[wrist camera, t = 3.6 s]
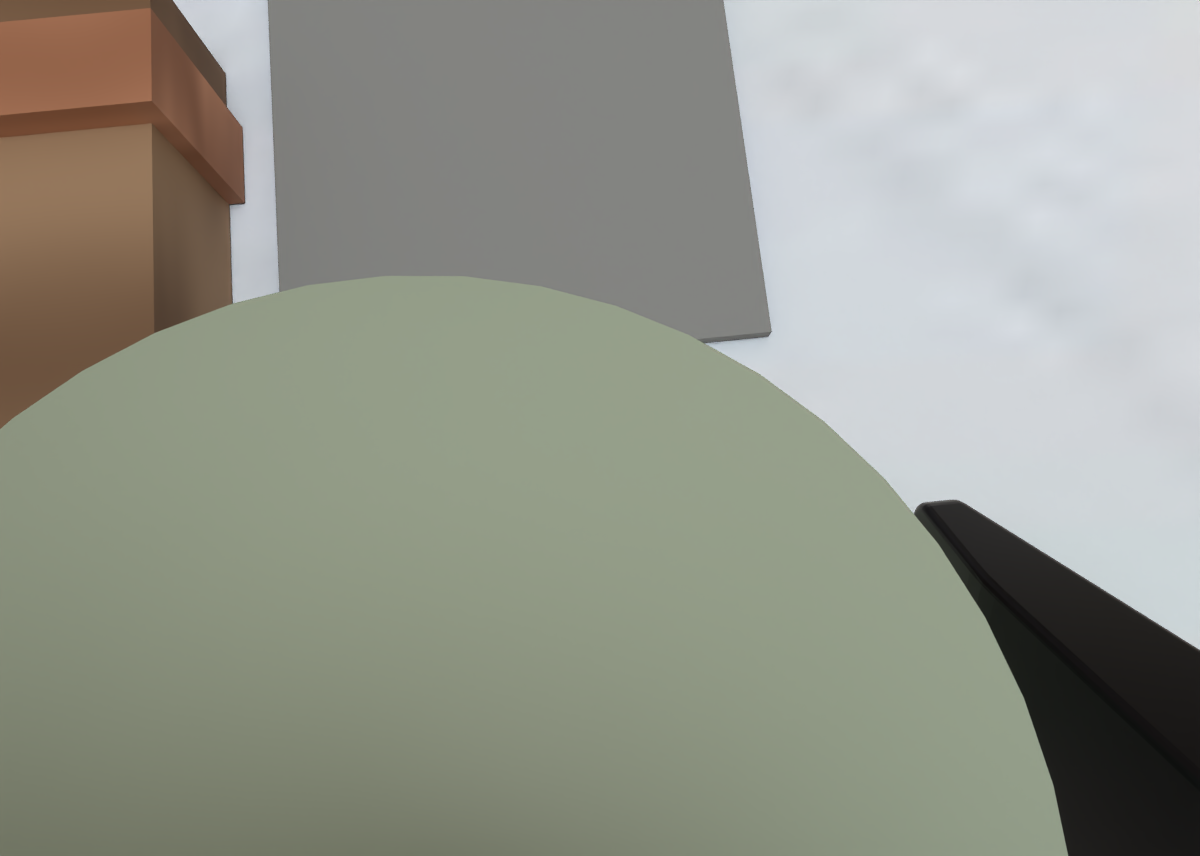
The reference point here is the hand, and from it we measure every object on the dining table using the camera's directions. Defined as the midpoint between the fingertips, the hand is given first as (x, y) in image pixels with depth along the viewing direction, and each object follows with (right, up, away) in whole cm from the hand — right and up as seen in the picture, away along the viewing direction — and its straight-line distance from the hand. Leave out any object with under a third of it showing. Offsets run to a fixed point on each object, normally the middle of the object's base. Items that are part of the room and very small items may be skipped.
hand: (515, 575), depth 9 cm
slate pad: (-1, +7, +8) cm, 11 cm away
